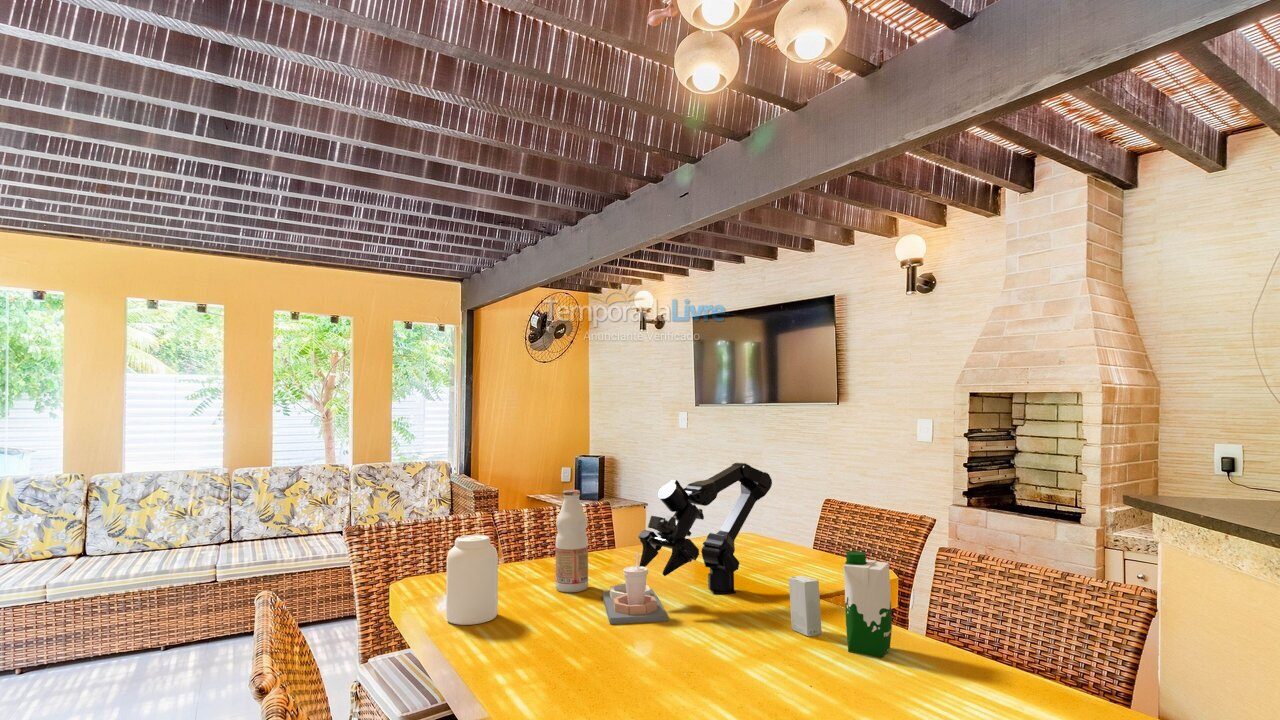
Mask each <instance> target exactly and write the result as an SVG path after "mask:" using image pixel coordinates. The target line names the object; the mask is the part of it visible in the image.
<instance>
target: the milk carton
mask: <svg viewBox="0 0 1280 720" xmlns="http://www.w3.org/2000/svg"><path fill="white" fill-rule="evenodd" d="M845 555H846V556H845V557H846V561H845V563H844V564H843V566H842V567H843V568H842V569H843V580H844V581H843V582H844V603H845V604H844V605H845V627H846V628H845V629H846V640H847V652H849V653H855V654H859V655H863V656H870V657H875V658H882V659H883V658H884V657H885V655H886V654H887V653H888V651H889V650H890V648H891V639H892V633H893V631H892V630H893V629H892V628H893V625H892V623H893V620H892V619H893V618H892V597H891V596H892V593H891V578H890V577H891V575H890V569H889V568H890V567H889V566H890V564H889V562H885V561H877V560H875V559H874V560H873V559H867V554H866V552H863V551H860V550H849V551H846V554H845Z"/></svg>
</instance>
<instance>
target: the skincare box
mask: <svg viewBox="0 0 1280 720" xmlns="http://www.w3.org/2000/svg"><path fill="white" fill-rule="evenodd" d="M819 584H820V582H819V580H818V579H815V578H813V577H808V576H807V575H806V576H804V575H802V574H801V575H796V576H795V575H794V576H789V577H788V588H789V604H790V606H789V607H790V619H791V620H790V621H791V630H793V631H795V632H796V633H799V634H801V635H804V636H806V637H817V636H820V635H822V633H823V631H822V615H821V600H820V598H821V597H820V585H819Z"/></svg>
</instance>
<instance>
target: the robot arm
mask: <svg viewBox="0 0 1280 720" xmlns="http://www.w3.org/2000/svg"><path fill="white" fill-rule="evenodd" d="M737 482H739V483H740V495H739V496H738V498H737V499H736V502H735V504H734V505H733V507H732V509H731V510H730V512H729V513H728V515H727V517H726V519H725V521H724V522H723V524H722V526H721V528H720V529H719V530H718V532H716V533H713V532H709V533H708V535H707V537H706V539H705V540H704V541H703V543H702V548H701V556H702V559H703V563H704V567H705V568H709V572H708V574H707V588H708V589H709V590H710V591H711V593H712V594H715V595H718V594H721V595H722V594H736V593H737V590H736V589H735V573H734V572H736V571H738V570H739V569H740V568H739V567H740V561H739V560H738V559H737V557H736V556H735V555H734V553H735V551H736V548H735V547H736V546H735V540H736V538H737V536H738V535H739V533H740V531H741V529H742V527H743V526H744V524H745V522H746V521H747V519H748V517H749V514H750V512H752V509H753V508H754V506H755V504H756V502H757V501H760V500H761V499H762V498H764V497H765V496H766V495H767V493H768V492H769V491H770V489H771V488H772V485H773V480H772V477H771V476H770V474H769V473H768V472H766V471H765V472H764V471H762V470H759V469H757V468H755V467H752V466H751V465H750V464H748V463H745V462H734V463H732V464H731V466H729V467H727V468H725V469H723V470H722V471H720V472H718V473H716V474H715V475H712V477H709V478H707V479H702V480H697V481H694V482H690V483H688V484H687V485H686V486H685V488H684V487H682V485H681V484H680V481H679V480H677V479H671V480H670V481H669V482H667V483H665V484H664V485H662V487H660V488H659V490H658V491H657V497H658V498H659V500H660V501H661V502H662V503H663V505H665V507H666V508H667V509H668V510H669V511H670V512H671V513H672V512H673V513H674V514H673V516H670V515H668V516H666V517H661V516H655V515H651V516H650V519H649V523H648V525H647V528H649V529H653V530H656V533H655V532H654V531H651V530H647V529H646V530H645V529H644V530H641V531H640V533H639V534H638V539H639V541H640V543H641V544H642V553H641V557H640V561H639V566H642V567H646V568H647V566H648V565H649V564H650V563H651V562H652V561H653V559H655V557H656V556H657V555H659V551H661V549H662V548H668V549H671V555H670V557H669V559H668V561H667V562H666V564H665V567H664V568H663V571H662V575H663V576H664V577H666V576H668V575H669V574H671V573H672V572H674V571H675V570H677V569H679V568H680V567H682V566H684V565H686V564H687V563H692V561H697V559H698V557H699V556H700V548H698V547H697V546H696V544H695V543H694V542H693V541H692V540H691V539H690V538H686V537H691V536H692V532H691V531H690V530H691V528H692V526H693V525H694V524H695V522H696V520H701V521H702V520H704V519H705V517H704V512H703V509H701V508H698V506H707V507H708V506H709V505H710V504H711V503H713V502H714V501H715V500H716V499H717V498H718V497H717V496H718V494H719V493H720V492H722V491H724V490H725V489H727V488H729V487H730V486H732V485H733V484H736V483H737ZM697 505H698V506H697ZM659 536H660V537H659Z"/></svg>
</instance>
